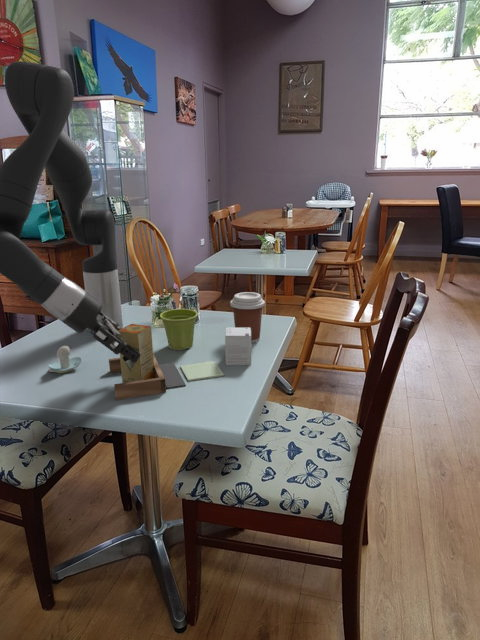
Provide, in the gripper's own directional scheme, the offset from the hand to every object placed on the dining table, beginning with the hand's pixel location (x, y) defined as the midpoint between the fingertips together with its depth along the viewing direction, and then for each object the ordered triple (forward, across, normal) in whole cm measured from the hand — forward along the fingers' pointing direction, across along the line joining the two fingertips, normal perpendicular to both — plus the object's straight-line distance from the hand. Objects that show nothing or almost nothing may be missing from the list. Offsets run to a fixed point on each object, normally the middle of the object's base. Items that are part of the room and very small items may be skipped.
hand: (135, 351), depth 102 cm
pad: (+15, 0, -5) cm, 16 cm away
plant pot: (+14, +18, -4) cm, 23 cm away
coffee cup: (+27, +17, -17) cm, 36 cm away
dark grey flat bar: (+10, 0, 0) cm, 10 cm away
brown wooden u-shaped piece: (+4, 0, +5) cm, 7 cm away
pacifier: (-6, +12, +16) cm, 21 cm away
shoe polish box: (+5, 0, +5) cm, 7 cm away
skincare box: (+22, +4, -12) cm, 26 cm away
